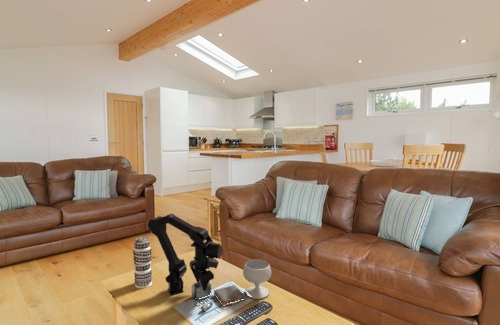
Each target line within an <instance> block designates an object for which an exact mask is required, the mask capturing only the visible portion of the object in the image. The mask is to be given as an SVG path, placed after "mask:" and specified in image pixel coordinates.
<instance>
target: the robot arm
mask: <svg viewBox="0 0 500 325" xmlns="http://www.w3.org/2000/svg"><path fill="white" fill-rule="evenodd" d="M167 224H168V225H171V226H172V227H174V228H176V229H177V230H179V231H180V232H183V233H184V234H186V236H187V235H188V237H189V239H190V240H191V241H193V243H192V244H190V247H194V256H193V260H190V262H189V263H188V264H189V267H190V271H191V272H192V275H193V277H194V279H195V281H196V283H198V282H200V283H201V286H202V288H203V291H206V289H207V286H208V283H209V281H213V280H214V279H215V274H214V273H213V272H212V271H211V270H210V268H213V269H217V268H218V266H219V261H218V260H217V259H221V258H222V256H223V251H224V250H223V246H221V243H219V242H217V243H215V242H214V240H213V239H212V237H211V236H210V234H209V231H208V230H207V229H206V228H203V227H200V226H195V225H192V224H190V223H189V222H187V221H185V220H184V219H182V218H180V217H178V216H176V215H175V214H174V213H169V214H166V215H164V216H161V215H160V216H157V217H153V218H151V219H149V220H148V223H147V228H148V229H149V231H150V232H151V234H152V235H154V236H156V238H157V240H158V242H159V244H160V246H161V248H162V251H163V253H164V255H165V258H166V259H167V262H168V272H169V274H168V275H167V276H165V277H164V279H165V281H166V283H167V284H168V285H167V286H168V287H167V291H168V293H169V295H170V296H173V295H176V294H182V293H183V292H184V280H183V277H184V275H185V274H186V273H187V270H188V269H187V266H188V265H187V264H186V262H185V259H181V258H180V257H178V255H177V253H176V250H175V248H174V246H173V244H172V242H171V239H170V237H169V235H168V232H167Z"/></svg>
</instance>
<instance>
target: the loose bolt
mask: <svg viewBox="0 0 500 325" xmlns="http://www.w3.org/2000/svg"><path fill="white" fill-rule="evenodd" d="M211 305H212V306H213V302H212V301H210V302H209V303H207V304H206V305H205V304H203V305H201V307H200V310H201V311H202V312H203V311H205V312H206V311H207V310H208V309H210V308H211V307H212V306H211ZM210 306H211V307H210ZM209 307H210V308H209Z"/></svg>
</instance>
